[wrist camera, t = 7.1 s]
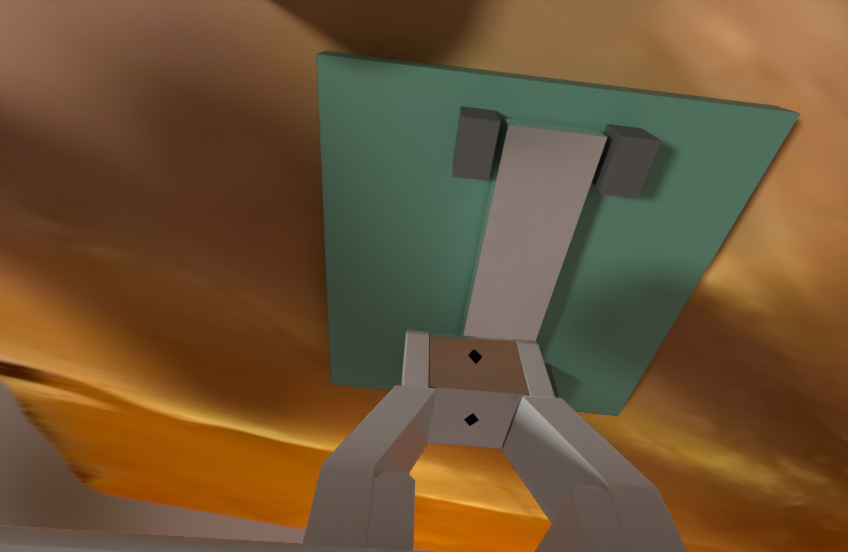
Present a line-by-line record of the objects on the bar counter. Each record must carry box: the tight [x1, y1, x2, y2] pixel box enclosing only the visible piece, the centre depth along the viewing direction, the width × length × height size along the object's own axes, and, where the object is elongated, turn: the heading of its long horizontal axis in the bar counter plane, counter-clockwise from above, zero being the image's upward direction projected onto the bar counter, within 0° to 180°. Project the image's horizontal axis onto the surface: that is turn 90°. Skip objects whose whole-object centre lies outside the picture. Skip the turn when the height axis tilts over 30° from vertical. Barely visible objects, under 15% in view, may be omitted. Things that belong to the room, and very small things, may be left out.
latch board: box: [317, 51, 800, 416], centre depth 21 cm, size 20×20×4 cm
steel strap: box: [460, 118, 607, 341], centre depth 21 cm, size 4×16×2 cm, turn 174°
